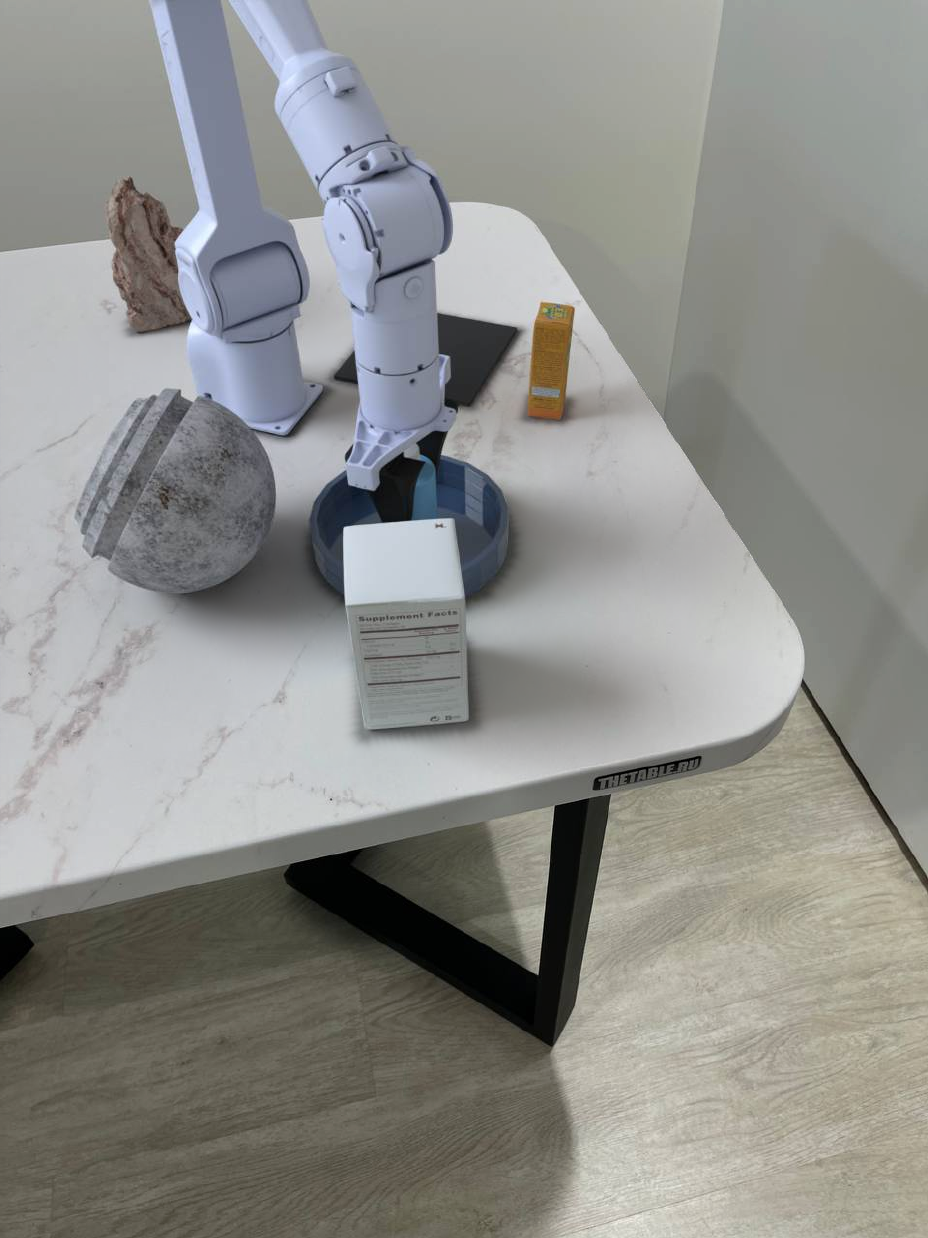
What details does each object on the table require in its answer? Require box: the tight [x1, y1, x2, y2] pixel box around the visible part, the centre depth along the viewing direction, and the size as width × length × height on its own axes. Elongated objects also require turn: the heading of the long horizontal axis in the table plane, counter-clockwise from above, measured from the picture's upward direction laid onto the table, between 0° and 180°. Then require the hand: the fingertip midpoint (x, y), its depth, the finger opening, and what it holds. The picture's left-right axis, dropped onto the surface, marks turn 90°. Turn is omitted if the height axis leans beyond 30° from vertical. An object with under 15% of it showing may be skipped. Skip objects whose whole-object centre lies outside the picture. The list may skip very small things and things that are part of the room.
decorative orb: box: [73, 387, 277, 594], centre depth 75 cm, size 15×14×15 cm
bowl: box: [308, 454, 510, 599], centre depth 81 cm, size 16×16×3 cm
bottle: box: [404, 443, 438, 521], centre depth 78 cm, size 4×4×9 cm
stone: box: [104, 176, 193, 333], centre depth 102 cm, size 15×8×10 cm
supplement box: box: [526, 301, 576, 421], centre depth 90 cm, size 3×3×10 cm
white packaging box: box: [343, 518, 470, 730], centre depth 67 cm, size 7×7×13 cm
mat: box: [333, 312, 518, 407], centre depth 101 cm, size 14×14×1 cm
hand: (408, 504), depth 79 cm, fingers closed on bottle, 4 cm apart
